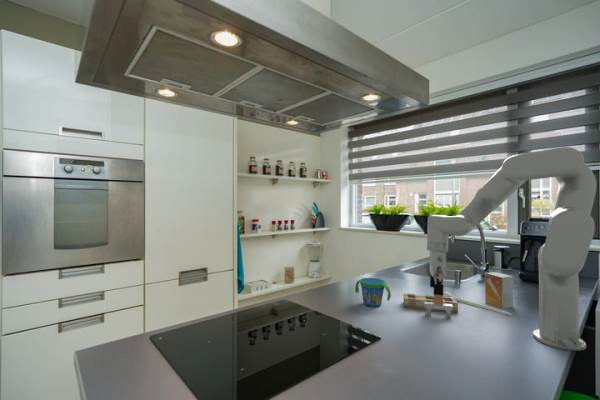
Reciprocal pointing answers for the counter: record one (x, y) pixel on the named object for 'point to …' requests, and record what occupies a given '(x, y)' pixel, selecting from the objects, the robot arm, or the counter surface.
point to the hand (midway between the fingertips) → (436, 290)
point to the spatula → (475, 304)
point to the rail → (418, 301)
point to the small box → (499, 289)
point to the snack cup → (372, 291)
